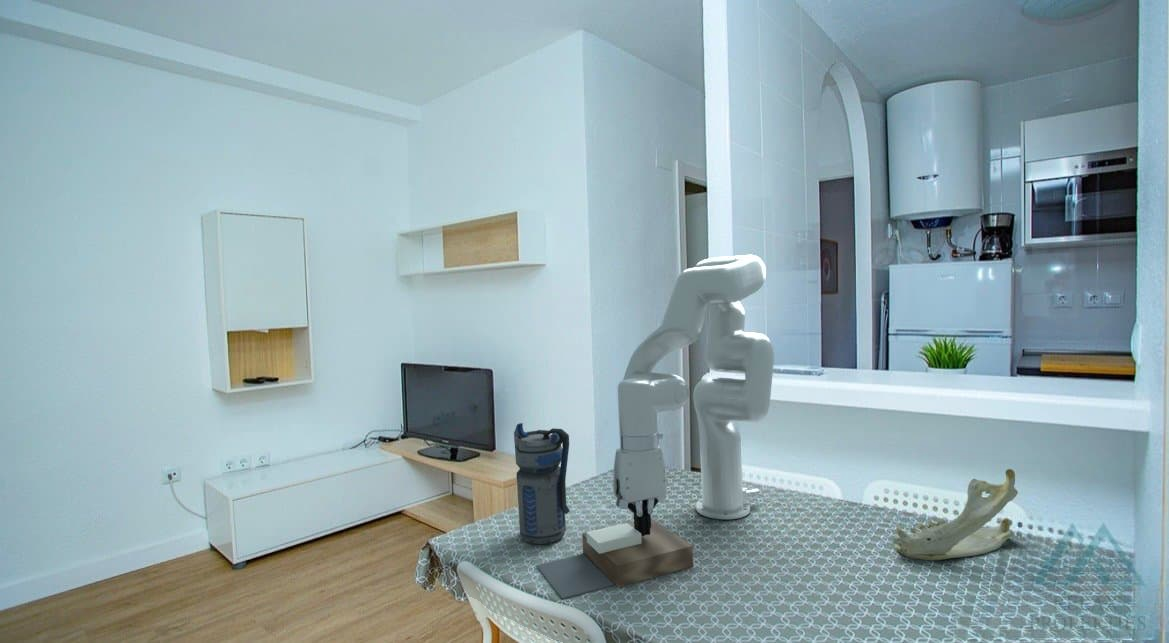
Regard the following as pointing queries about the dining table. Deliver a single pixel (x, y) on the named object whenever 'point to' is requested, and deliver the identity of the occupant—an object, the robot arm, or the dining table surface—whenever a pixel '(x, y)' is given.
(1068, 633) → the dining table surface
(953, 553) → the jawbone
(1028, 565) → the dining table surface
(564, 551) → the dining table surface
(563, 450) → the beverage bottle
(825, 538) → the dining table surface
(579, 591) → the mat
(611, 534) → the pale grey flat tile
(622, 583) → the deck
